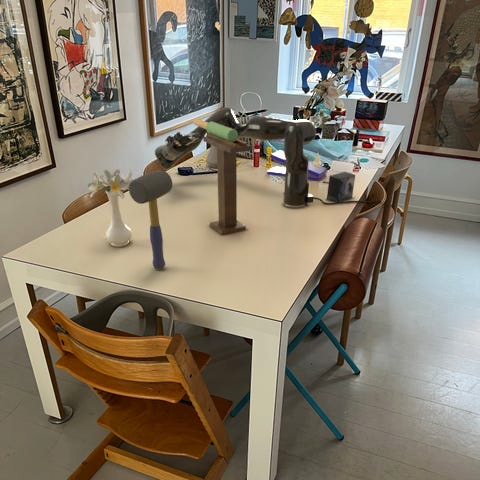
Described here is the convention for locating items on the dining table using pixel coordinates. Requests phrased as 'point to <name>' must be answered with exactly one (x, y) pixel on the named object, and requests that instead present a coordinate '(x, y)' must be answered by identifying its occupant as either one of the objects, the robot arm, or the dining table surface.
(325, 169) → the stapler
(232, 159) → the stand
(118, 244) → the flower vase
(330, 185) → the small box
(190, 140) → the robot arm
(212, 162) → the coffee pot
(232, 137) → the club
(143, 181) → the rubber mallet
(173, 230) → the dining table surface
